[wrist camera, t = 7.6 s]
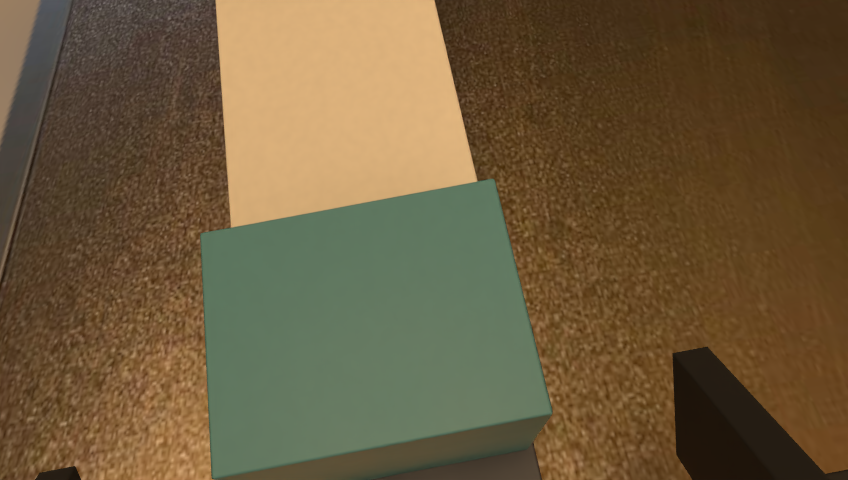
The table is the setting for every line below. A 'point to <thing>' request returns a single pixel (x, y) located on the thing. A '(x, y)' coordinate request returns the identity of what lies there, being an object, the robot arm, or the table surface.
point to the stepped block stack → (359, 260)
